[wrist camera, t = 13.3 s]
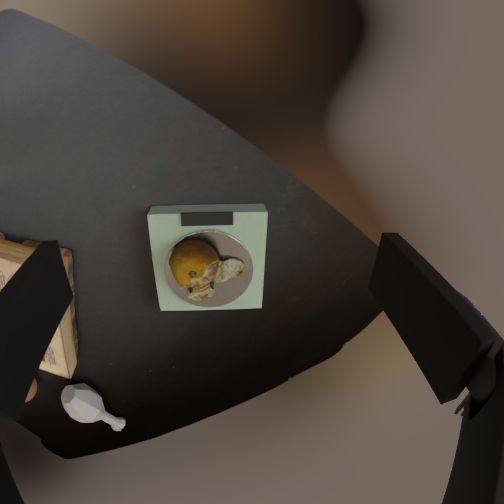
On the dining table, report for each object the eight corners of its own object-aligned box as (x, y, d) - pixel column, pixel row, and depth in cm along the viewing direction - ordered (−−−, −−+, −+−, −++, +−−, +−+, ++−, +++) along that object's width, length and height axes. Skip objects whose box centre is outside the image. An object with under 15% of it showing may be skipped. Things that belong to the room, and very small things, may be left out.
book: (-26, 323, 42) (82, 363, 48) (-40, 342, 36) (73, 388, 42) (-50, 216, 31) (74, 248, 38) (-71, 231, 26) (55, 272, 32)
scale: (151, 205, 36) (146, 214, 34) (263, 202, 38) (268, 211, 35) (162, 297, 43) (160, 311, 40) (258, 295, 45) (262, 309, 42)
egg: (14, 358, 47) (0, 386, 39) (38, 367, 48) (26, 397, 41) (20, 375, 49) (8, 402, 42) (43, 384, 51) (32, 413, 44)
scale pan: (160, 230, 35) (160, 232, 34) (254, 228, 36) (255, 230, 36) (170, 305, 40) (169, 308, 39) (251, 303, 41) (251, 305, 41)
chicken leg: (105, 419, 59) (115, 446, 53) (52, 387, 47) (58, 419, 41) (129, 403, 61) (141, 431, 55) (78, 368, 49) (86, 401, 43)
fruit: (199, 303, 40) (199, 322, 36) (153, 262, 36) (148, 279, 33) (249, 267, 38) (252, 284, 35) (203, 220, 34) (202, 234, 31)
